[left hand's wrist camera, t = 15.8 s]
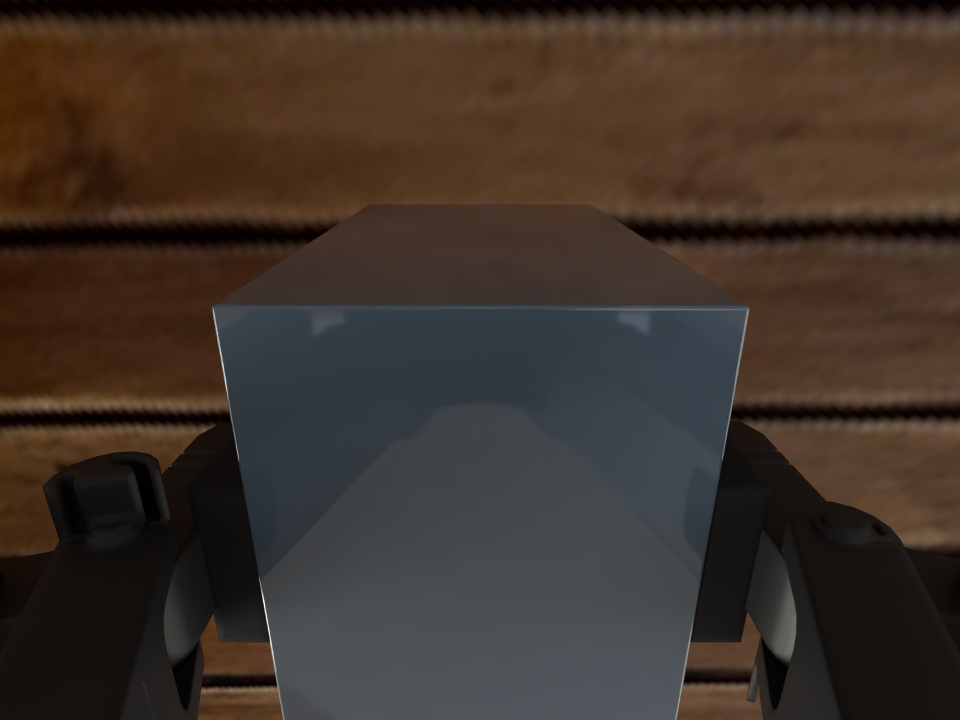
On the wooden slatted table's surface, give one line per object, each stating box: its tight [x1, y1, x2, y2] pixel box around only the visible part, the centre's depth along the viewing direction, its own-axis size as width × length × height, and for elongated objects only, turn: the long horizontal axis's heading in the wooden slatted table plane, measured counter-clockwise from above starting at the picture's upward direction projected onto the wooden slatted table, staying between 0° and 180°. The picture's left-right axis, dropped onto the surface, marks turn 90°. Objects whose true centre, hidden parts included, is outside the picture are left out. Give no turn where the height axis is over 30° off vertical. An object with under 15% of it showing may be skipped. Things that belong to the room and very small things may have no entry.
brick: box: [212, 204, 749, 720], centre depth 13 cm, size 6×8×10 cm
